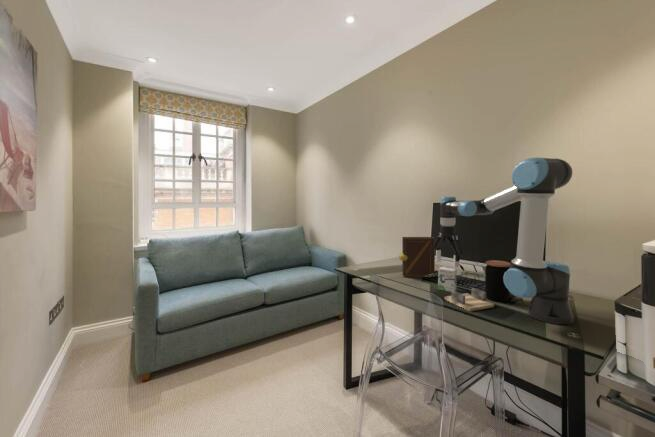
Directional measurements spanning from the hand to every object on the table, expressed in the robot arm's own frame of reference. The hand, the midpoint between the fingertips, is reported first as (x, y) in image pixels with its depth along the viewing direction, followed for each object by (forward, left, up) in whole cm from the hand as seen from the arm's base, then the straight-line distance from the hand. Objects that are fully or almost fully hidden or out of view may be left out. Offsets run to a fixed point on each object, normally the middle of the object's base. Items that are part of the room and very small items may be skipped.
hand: (446, 264), depth 156 cm
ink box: (0, 0, -14) cm, 14 cm away
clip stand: (-20, +5, -14) cm, 25 cm away
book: (+29, -1, -14) cm, 32 cm away
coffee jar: (-20, -13, -14) cm, 28 cm away
